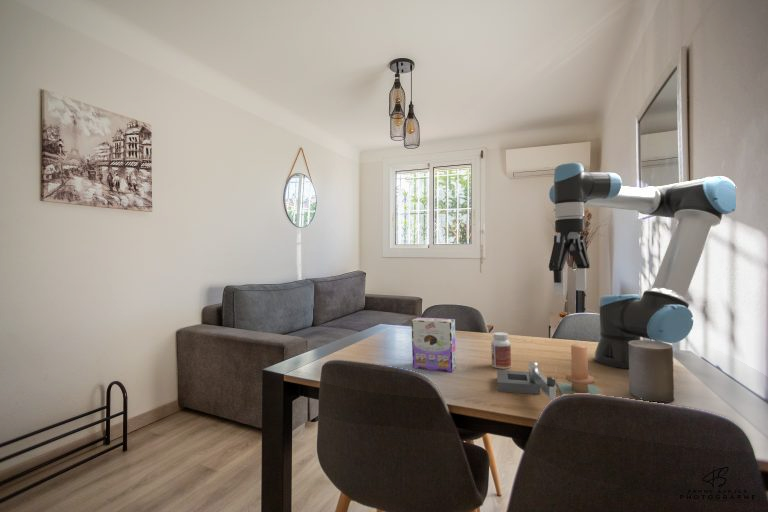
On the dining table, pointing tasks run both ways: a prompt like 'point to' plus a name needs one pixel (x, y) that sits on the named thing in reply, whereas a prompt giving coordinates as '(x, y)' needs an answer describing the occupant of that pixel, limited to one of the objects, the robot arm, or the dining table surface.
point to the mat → (567, 389)
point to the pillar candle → (651, 370)
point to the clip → (542, 380)
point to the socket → (516, 382)
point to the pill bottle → (501, 351)
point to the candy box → (434, 344)
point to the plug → (579, 369)
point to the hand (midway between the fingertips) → (570, 292)
